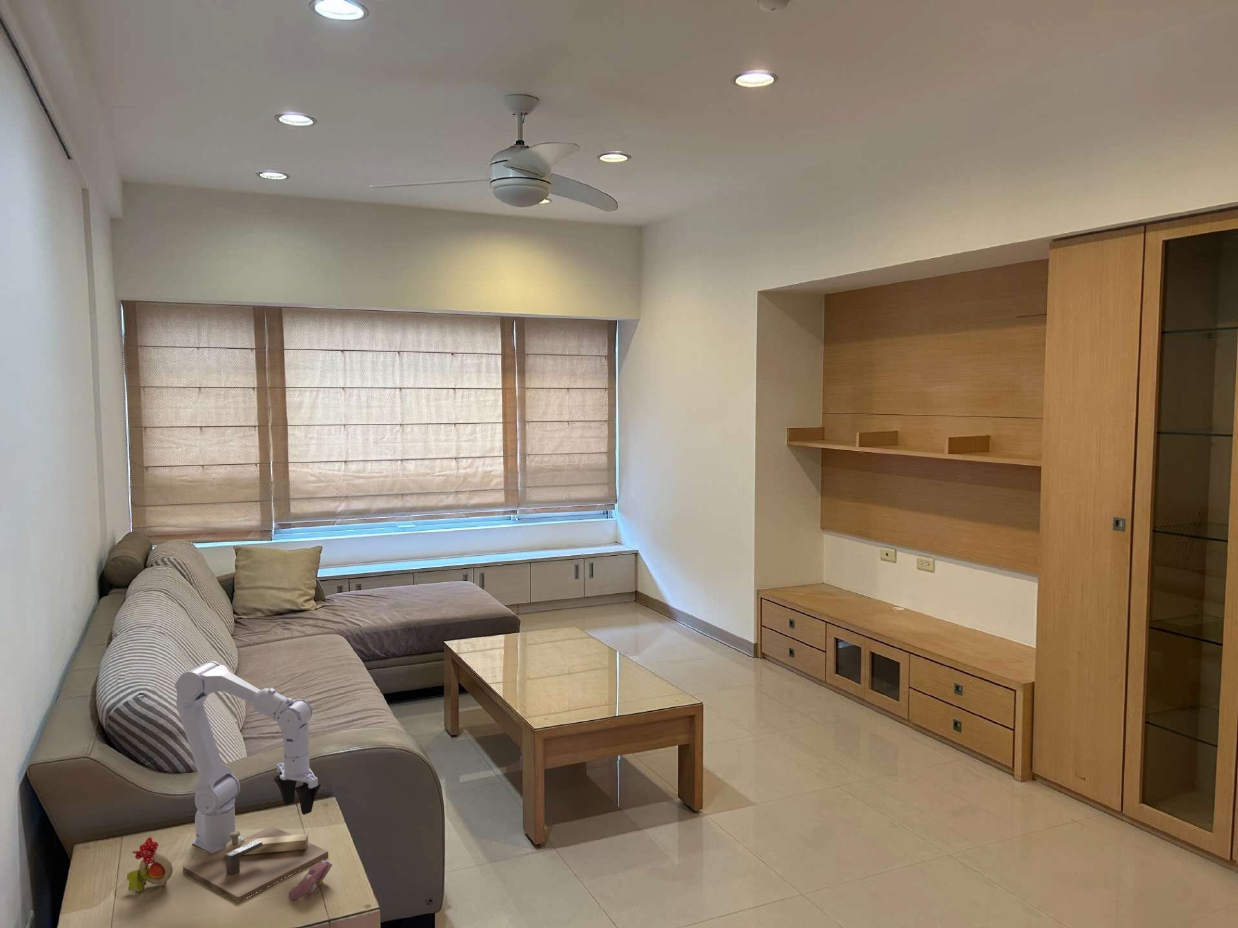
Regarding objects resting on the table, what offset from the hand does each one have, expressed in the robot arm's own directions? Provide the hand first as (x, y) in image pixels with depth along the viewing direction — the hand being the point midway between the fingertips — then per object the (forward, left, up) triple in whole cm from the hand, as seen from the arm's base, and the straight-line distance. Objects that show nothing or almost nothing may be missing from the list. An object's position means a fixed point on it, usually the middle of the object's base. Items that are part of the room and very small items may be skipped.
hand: (298, 808), depth 210 cm
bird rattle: (-14, -28, -11) cm, 33 cm away
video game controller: (+17, -9, -11) cm, 22 cm away
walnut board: (-3, -9, -10) cm, 14 cm away
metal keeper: (-2, -13, -9) cm, 16 cm away
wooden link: (-4, -6, -9) cm, 11 cm away
